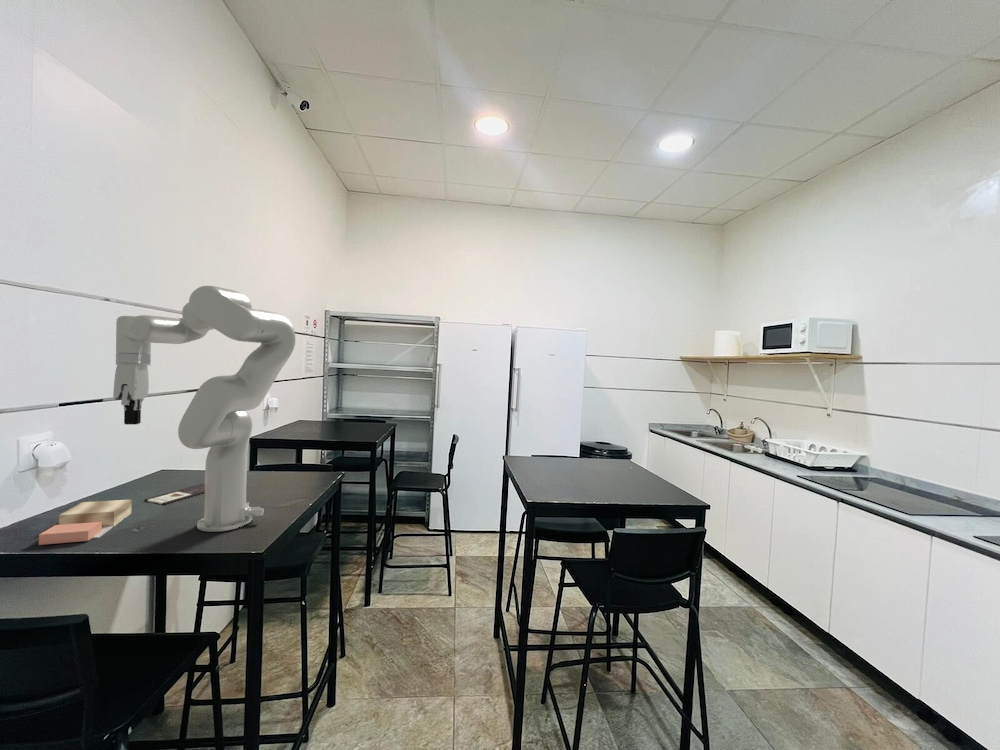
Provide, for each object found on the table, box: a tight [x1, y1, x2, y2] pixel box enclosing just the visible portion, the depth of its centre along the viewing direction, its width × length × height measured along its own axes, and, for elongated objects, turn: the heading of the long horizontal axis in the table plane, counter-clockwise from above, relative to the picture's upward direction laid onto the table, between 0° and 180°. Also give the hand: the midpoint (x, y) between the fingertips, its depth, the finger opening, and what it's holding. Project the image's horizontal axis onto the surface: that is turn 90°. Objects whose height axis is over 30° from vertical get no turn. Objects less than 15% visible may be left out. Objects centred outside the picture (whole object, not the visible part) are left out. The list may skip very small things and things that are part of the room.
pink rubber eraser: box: [38, 522, 102, 546], centre depth 103 cm, size 9×6×2 cm, turn 110°
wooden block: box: [58, 498, 133, 528], centre depth 114 cm, size 11×10×4 cm
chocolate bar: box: [144, 483, 205, 506], centre depth 138 cm, size 9×1×18 cm
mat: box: [90, 526, 114, 540], centre depth 105 cm, size 11×7×1 cm, turn 111°
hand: (132, 423), depth 122 cm, fingers closed
